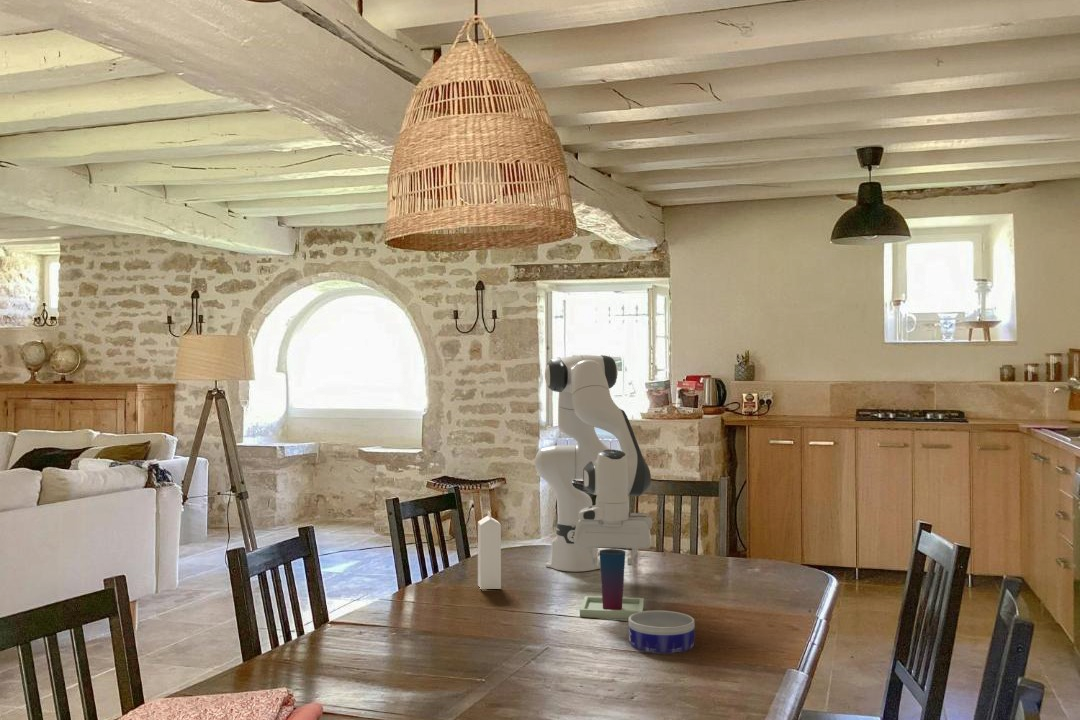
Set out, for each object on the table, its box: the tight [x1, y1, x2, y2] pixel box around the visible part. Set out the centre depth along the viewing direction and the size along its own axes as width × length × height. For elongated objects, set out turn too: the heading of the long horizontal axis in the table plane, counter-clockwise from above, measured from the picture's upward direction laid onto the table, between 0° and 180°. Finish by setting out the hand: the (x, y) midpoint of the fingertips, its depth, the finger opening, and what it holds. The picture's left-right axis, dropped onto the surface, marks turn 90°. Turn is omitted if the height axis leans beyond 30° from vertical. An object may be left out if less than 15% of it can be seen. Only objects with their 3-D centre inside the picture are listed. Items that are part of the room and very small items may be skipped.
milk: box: [477, 510, 502, 590], centre depth 268 cm, size 6×6×22 cm
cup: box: [599, 548, 626, 610], centre depth 243 cm, size 7×7×15 cm
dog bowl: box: [627, 609, 696, 654], centre depth 215 cm, size 15×15×6 cm
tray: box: [579, 595, 645, 619], centre depth 243 cm, size 14×16×2 cm
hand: (612, 564), depth 243 cm, fingers open, 8 cm apart
